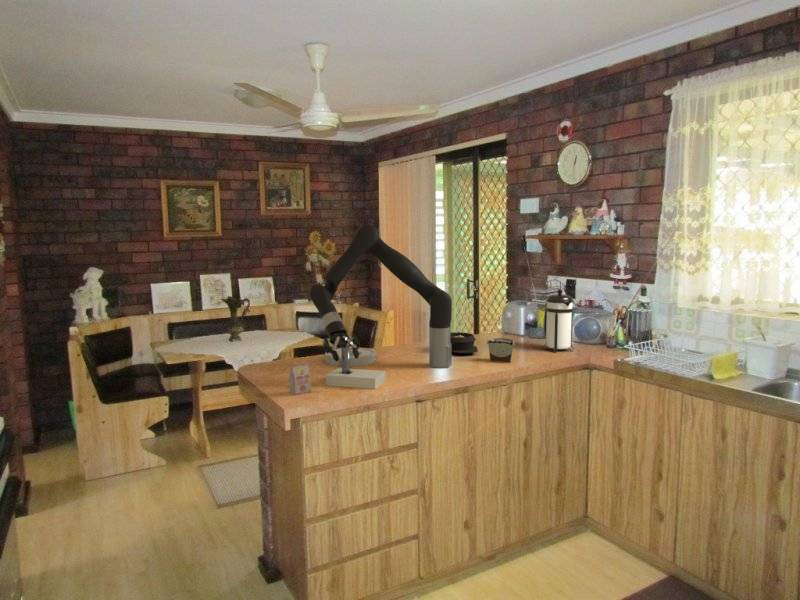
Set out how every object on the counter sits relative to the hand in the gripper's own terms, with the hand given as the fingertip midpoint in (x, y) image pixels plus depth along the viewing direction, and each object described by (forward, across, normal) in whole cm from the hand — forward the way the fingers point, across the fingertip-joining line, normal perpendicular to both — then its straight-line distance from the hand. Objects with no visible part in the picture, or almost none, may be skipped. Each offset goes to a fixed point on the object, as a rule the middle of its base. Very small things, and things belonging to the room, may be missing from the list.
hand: (347, 358), depth 221 cm
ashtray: (-18, +20, +32) cm, 42 cm away
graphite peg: (+6, 0, +8) cm, 10 cm away
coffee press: (+9, +115, +5) cm, 116 cm away
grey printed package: (+8, -21, +6) cm, 23 cm away
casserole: (-8, +73, +23) cm, 77 cm away
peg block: (+8, +3, +6) cm, 10 cm away
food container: (+11, +76, +3) cm, 77 cm away
